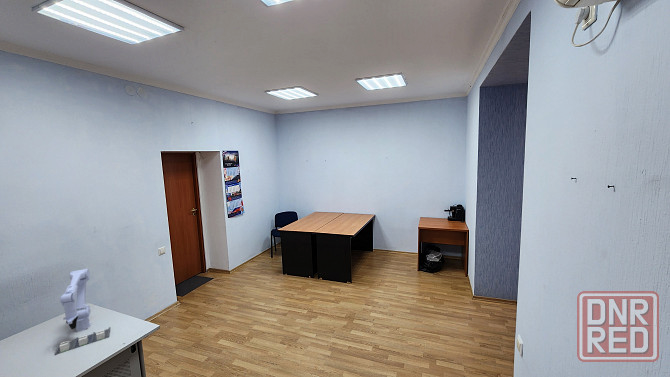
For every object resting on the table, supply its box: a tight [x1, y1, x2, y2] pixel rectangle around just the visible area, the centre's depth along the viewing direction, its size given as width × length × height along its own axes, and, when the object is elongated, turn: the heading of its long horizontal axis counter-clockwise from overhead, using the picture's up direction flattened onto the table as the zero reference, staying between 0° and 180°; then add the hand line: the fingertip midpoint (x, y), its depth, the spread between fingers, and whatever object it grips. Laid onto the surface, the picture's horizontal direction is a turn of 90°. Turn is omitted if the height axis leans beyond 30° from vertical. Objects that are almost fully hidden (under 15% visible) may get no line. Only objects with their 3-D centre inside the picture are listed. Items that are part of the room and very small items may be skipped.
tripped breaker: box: [95, 329, 106, 340], centre depth 187 cm, size 4×4×4 cm
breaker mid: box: [78, 334, 88, 347], centre depth 182 cm, size 4×4×4 cm
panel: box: [54, 326, 111, 356], centre depth 185 cm, size 12×27×2 cm, turn 126°
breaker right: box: [59, 340, 70, 352], centre depth 177 cm, size 4×4×4 cm
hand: (73, 328), depth 185 cm, fingers closed
